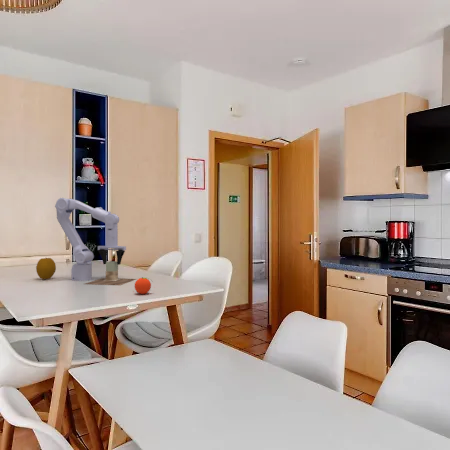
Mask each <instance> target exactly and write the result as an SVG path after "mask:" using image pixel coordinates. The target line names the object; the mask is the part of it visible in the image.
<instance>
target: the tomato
mask: <svg viewBox="0 0 450 450" xmlns="http://www.w3.org/2000/svg"><path fill="white" fill-rule="evenodd" d="M151 282H152V283H154V282H153V280H151V281H150V278H148V277H140V278H139V277H138V278H137V279H136V281H135V283H134V289H135V291H136V292H137V293H138V294H139V295H140V294H141V295H145V294H147V293H149V292H150V291H151V288H152V283H151Z"/></svg>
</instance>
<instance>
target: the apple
mask: <svg viewBox="0 0 450 450" xmlns="http://www.w3.org/2000/svg"><path fill="white" fill-rule="evenodd" d="M56 265H57V264H56V263H55V261H54V260H53V258H51V257H45V258H44V257H43V258H40V259H39V260H38V261H37V263H36V266H35V268H36V270H35V271H36V273H37V276H38V277H39V278H40V280H48V279H51V278H52V277H53V276H54V274H55V273H56V270H57V266H56Z"/></svg>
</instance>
